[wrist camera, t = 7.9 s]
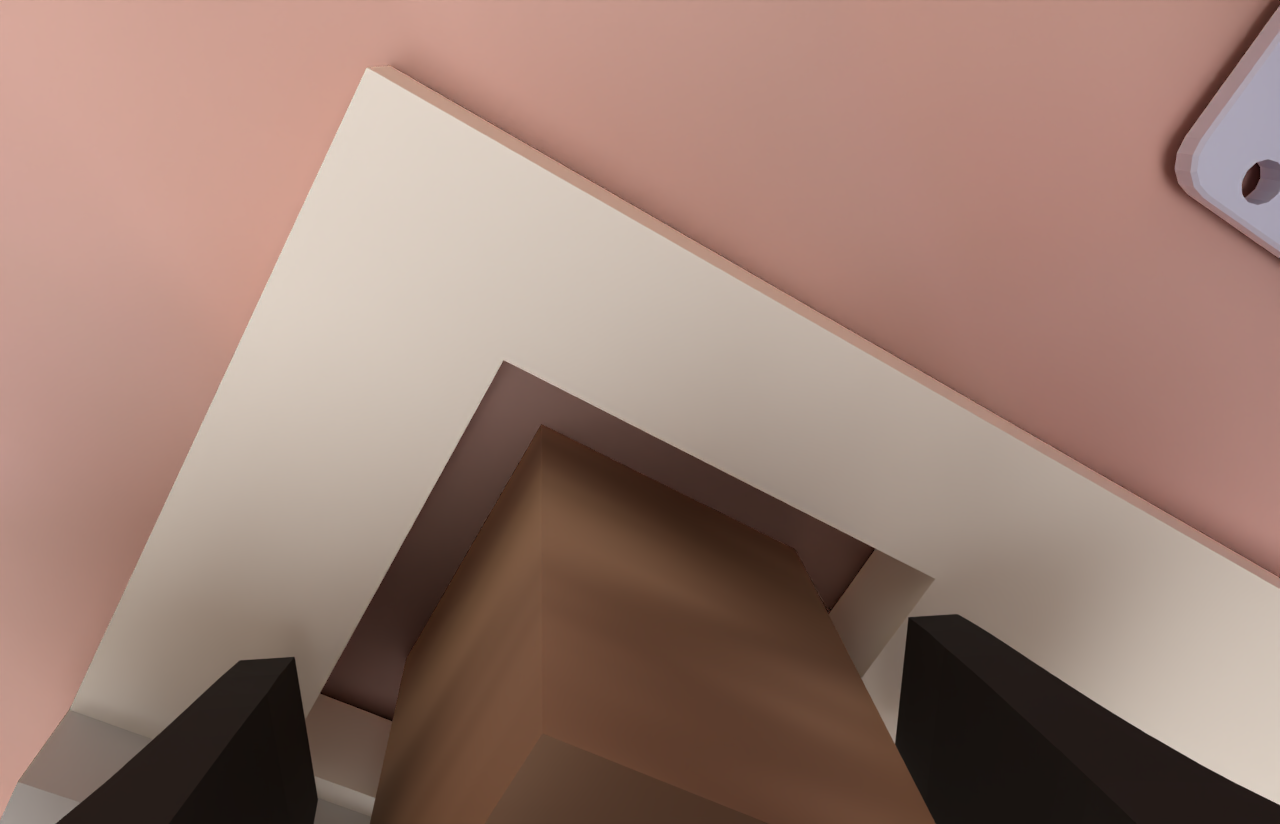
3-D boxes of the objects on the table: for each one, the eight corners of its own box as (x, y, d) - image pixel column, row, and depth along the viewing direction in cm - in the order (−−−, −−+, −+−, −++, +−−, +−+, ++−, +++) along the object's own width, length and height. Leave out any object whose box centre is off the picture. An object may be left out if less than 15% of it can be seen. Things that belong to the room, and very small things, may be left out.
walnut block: (795, 548, 13) (978, 907, 8) (650, 758, 14) (721, 1207, 9) (541, 423, 12) (542, 733, 7) (406, 658, 13) (309, 1095, 8)
